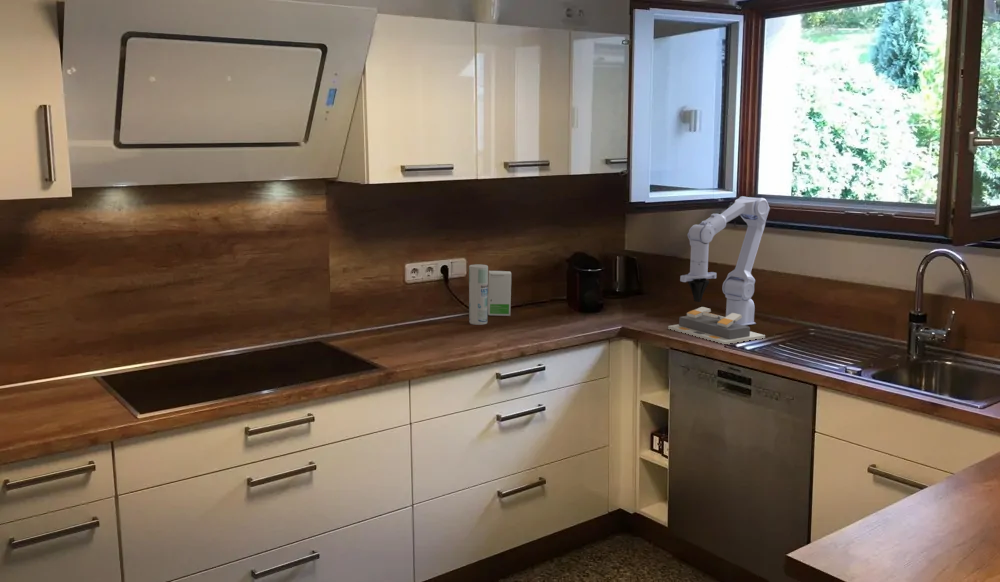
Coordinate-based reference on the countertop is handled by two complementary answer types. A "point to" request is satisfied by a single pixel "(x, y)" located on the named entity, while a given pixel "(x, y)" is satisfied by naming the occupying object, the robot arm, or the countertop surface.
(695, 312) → the rocker
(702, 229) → the robot arm
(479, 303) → the spray can
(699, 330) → the switch unit
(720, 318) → the rocker
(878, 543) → the countertop surface
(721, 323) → the block
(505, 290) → the skincare box
